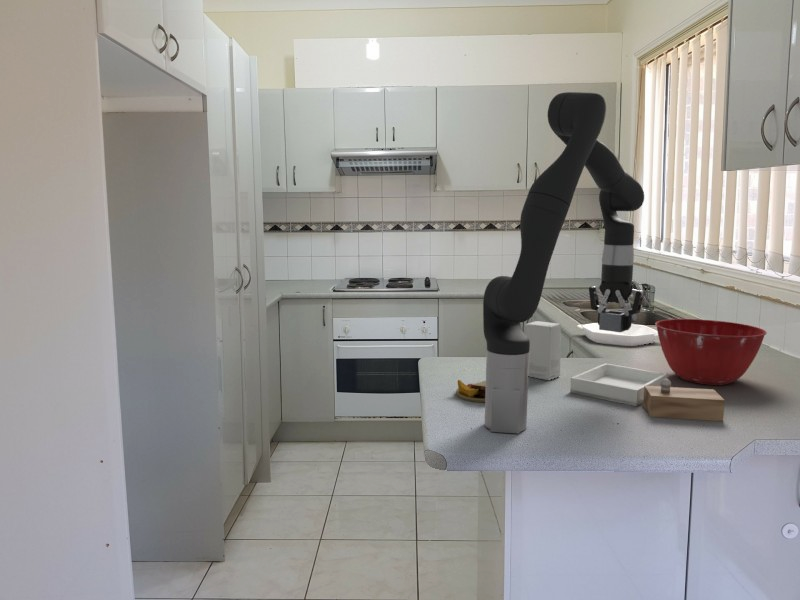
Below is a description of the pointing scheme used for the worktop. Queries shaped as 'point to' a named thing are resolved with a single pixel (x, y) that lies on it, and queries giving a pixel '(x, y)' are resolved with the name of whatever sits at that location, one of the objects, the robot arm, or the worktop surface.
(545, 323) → the skincare box
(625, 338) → the white serving platter
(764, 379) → the worktop surface
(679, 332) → the mixing bowl
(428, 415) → the worktop surface
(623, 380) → the bin
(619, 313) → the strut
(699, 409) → the stud block
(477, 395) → the toy sandwich meal
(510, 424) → the robot arm
